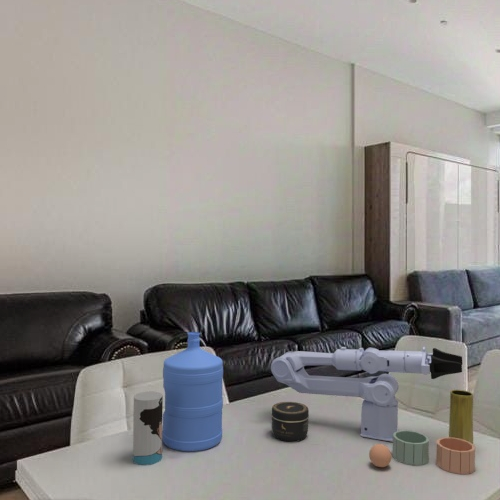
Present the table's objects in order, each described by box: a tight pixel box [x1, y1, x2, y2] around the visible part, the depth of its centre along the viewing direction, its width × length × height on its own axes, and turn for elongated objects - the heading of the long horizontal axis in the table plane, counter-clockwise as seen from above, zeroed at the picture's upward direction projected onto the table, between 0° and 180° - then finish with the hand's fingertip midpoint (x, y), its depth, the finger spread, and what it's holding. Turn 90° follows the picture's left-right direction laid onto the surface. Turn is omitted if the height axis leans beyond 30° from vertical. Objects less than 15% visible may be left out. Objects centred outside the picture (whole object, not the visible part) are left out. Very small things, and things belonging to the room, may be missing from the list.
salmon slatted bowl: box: [435, 436, 476, 475], centre depth 112 cm, size 8×8×5 cm
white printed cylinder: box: [132, 390, 164, 466], centre depth 114 cm, size 7×7×15 cm
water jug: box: [162, 331, 224, 452], centre depth 125 cm, size 16×16×28 cm
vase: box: [448, 389, 474, 445], centre depth 122 cm, size 6×6×14 cm
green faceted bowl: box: [392, 429, 430, 466], centre depth 116 cm, size 8×8×5 cm
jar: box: [271, 401, 310, 443], centre depth 129 cm, size 10×10×8 cm
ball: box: [368, 443, 392, 468], centre depth 111 cm, size 5×5×5 cm
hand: (462, 364), depth 121 cm, fingers open, 7 cm apart
